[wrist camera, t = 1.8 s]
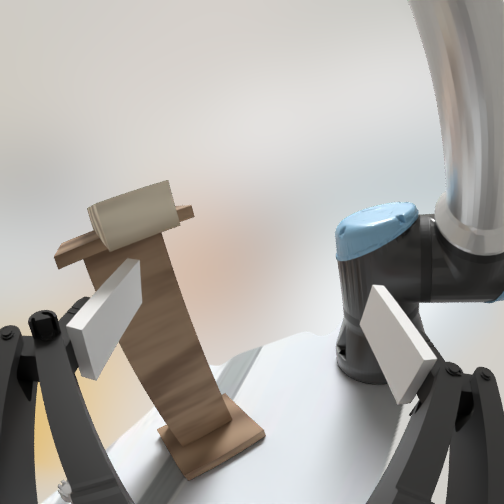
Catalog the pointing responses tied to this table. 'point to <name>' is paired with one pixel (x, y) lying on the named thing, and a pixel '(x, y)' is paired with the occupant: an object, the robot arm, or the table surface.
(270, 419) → the table surface
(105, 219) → the ash bar
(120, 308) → the robot arm
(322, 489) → the table surface
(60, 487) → the rook chess piece
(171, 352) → the shelf stand
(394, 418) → the table surface
